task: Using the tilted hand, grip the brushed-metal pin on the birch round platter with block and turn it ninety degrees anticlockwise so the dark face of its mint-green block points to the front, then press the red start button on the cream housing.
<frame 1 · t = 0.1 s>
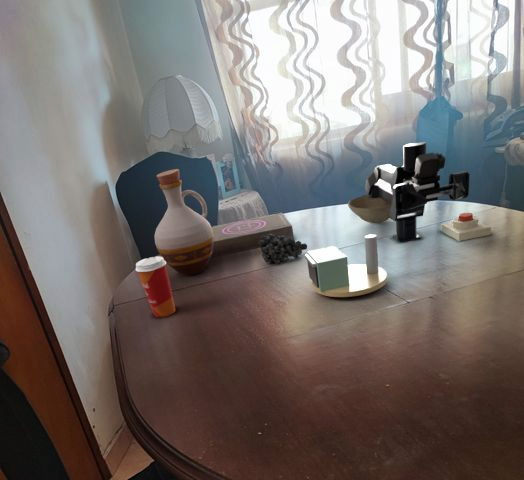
hand: (445, 197, 108), 16 cm above the table, tool horizontal, fingers open, 9 cm apart
bowl: (376, 223, 158), on the table, touching arm
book: (247, 241, 166), on the table
jug: (195, 270, 147), on the table
round platter with block: (346, 262, 111), point 6 cm above the table, hinge at 0.0°
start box: (465, 233, 133), on the table
start button: (465, 217, 131), point 4 cm above the table, slide at 0.1 cm
paper cup: (165, 313, 120), on the table
fruit: (284, 260, 140), on the table
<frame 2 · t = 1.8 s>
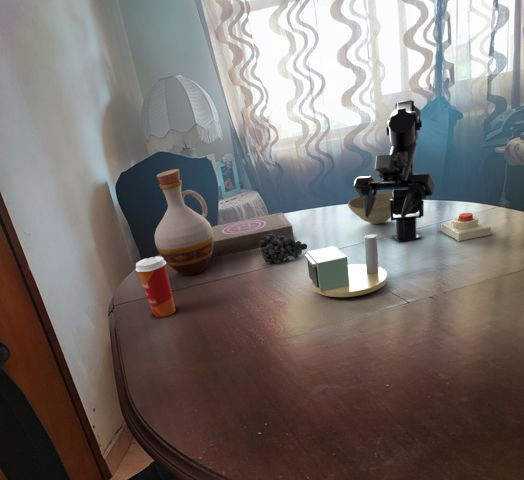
hand: (384, 217, 113), 14 cm above the table, tool tilted 45°, fingers open, 9 cm apart
bowl: (376, 223, 158), on the table
everything else where it was.
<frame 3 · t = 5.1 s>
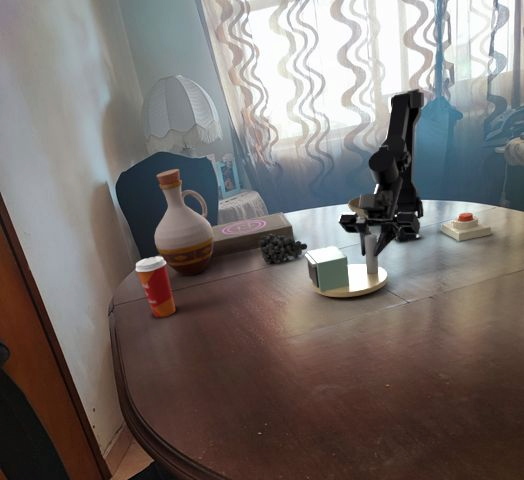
hand: (369, 255, 110), 7 cm above the table, tool tilted 45°, fingers closed on round platter with block, 3 cm apart
round platter with block: (346, 262, 111), point 6 cm above the table, hinge at 0.0°, touching gripper
everything else where it was.
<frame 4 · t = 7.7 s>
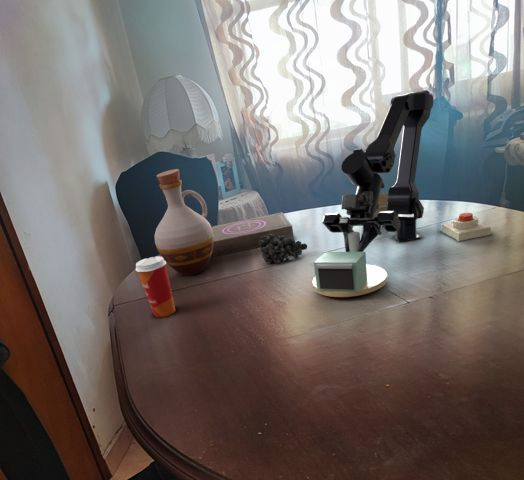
hand: (352, 254, 114), 7 cm above the table, tool tilted 45°, fingers closed on round platter with block, 3 cm apart
round platter with block: (347, 262, 110), point 6 cm above the table, hinge at 53.8°, touching gripper
everything else where it was.
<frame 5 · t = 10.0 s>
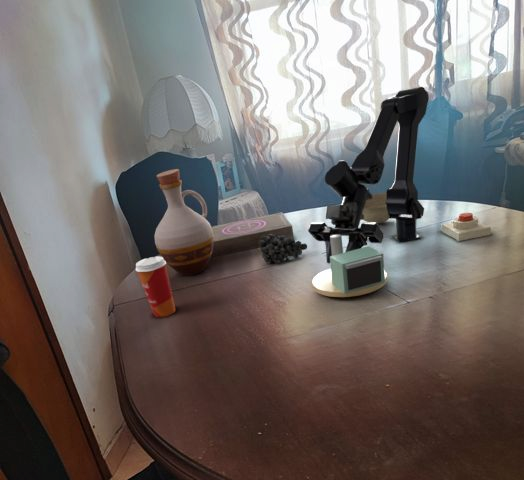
hand: (335, 263, 116), 5 cm above the table, tool tilted 45°, fingers open, 4 cm apart
round platter with block: (348, 262, 110), point 6 cm above the table, hinge at 96.7°
everything else where it was.
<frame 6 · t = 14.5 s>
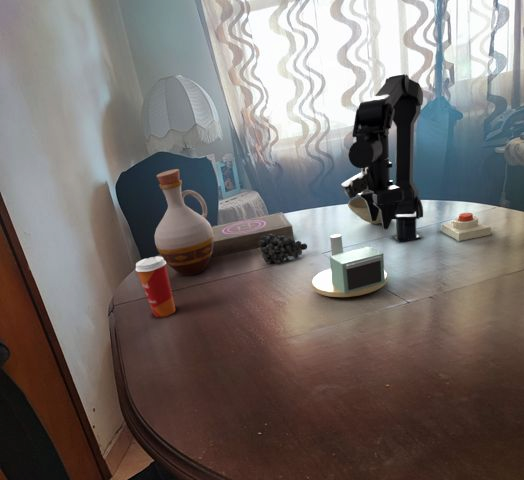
hand: (379, 225, 116), 11 cm above the table, tool pointing down, fingers open, 9 cm apart
nothing on the table moved.
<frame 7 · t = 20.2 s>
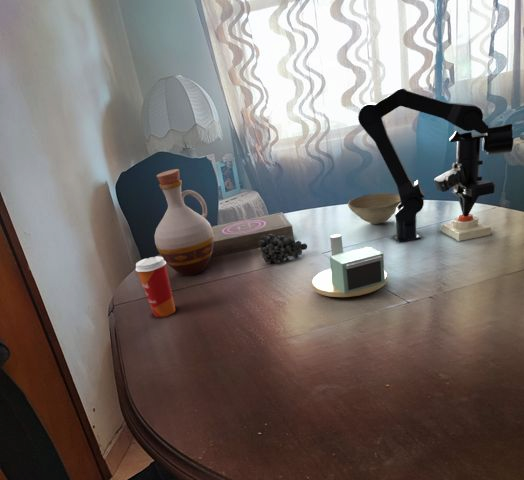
hand: (465, 215, 131), 5 cm above the table, tool pointing down, fingers closed, pressing on start button
start button: (465, 218, 131), point 4 cm above the table, slide at -0.2 cm, touching gripper
everything else where it was.
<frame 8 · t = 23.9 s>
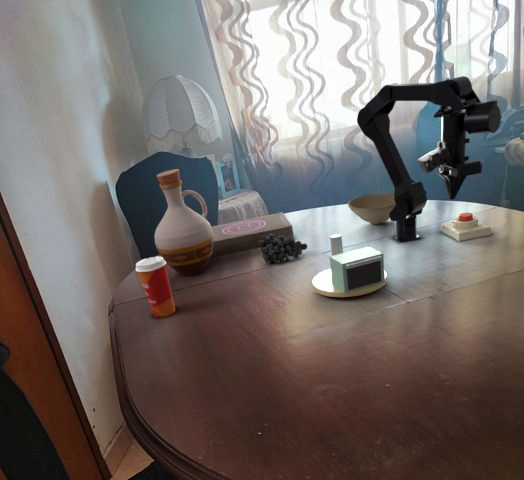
hand: (452, 199, 122), 12 cm above the table, tool pointing down, fingers closed
start button: (465, 217, 131), point 4 cm above the table, slide at 0.1 cm
everything else where it was.
at the end: round platter with block at +97° (first picture: +0°); start button pushed in 1.1 cm at the most during the clip, back to where it started at the end; start button slide at 0.1 cm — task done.
